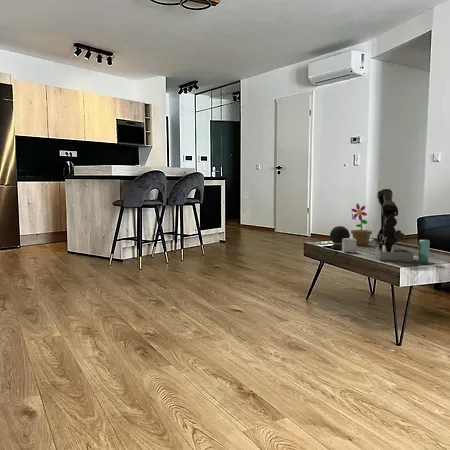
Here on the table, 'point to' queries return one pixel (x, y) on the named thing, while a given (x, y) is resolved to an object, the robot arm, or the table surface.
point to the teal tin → (423, 251)
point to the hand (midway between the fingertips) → (387, 253)
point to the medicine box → (349, 245)
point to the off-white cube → (386, 250)
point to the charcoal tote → (394, 255)
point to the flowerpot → (361, 235)
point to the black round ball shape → (338, 236)
